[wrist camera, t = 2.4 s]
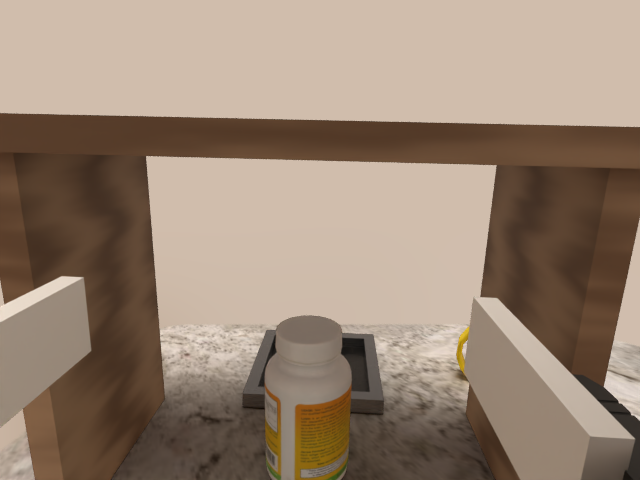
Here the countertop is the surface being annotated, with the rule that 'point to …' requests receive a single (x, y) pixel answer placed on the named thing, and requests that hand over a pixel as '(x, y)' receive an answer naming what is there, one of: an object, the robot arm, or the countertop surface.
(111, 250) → the tunnel
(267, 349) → the tray
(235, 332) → the countertop surface
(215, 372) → the countertop surface
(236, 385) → the countertop surface
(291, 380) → the supplement bottle
